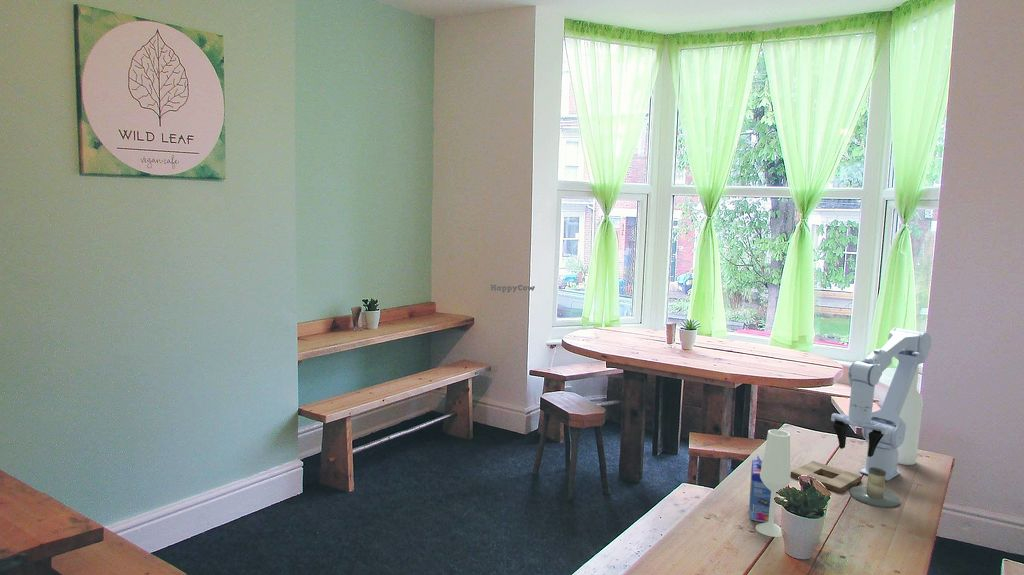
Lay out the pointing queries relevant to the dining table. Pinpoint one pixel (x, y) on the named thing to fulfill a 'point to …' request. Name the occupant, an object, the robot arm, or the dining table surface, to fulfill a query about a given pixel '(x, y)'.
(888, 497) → the disc
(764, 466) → the champagne flute
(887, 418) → the robot arm
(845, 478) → the socket block
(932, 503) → the dining table surface
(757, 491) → the ink cartridge box
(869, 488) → the small jar
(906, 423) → the bottle
